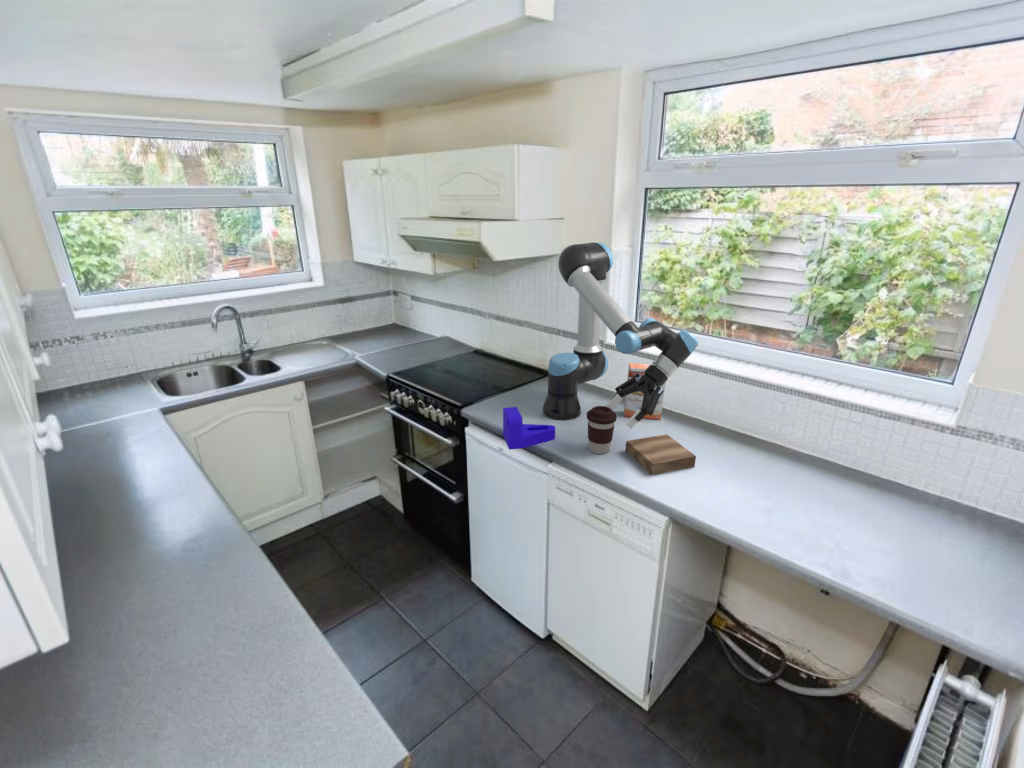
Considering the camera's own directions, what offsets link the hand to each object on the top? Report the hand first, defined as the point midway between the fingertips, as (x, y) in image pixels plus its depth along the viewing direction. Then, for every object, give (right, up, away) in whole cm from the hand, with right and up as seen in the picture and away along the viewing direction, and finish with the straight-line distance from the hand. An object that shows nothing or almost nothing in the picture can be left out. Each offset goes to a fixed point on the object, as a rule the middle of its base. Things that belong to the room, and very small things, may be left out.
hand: (617, 418), depth 170 cm
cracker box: (+16, -1, +30) cm, 34 cm away
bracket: (-29, -9, +11) cm, 32 cm away
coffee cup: (-6, -11, +4) cm, 13 cm away
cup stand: (+13, -13, -2) cm, 19 cm away
